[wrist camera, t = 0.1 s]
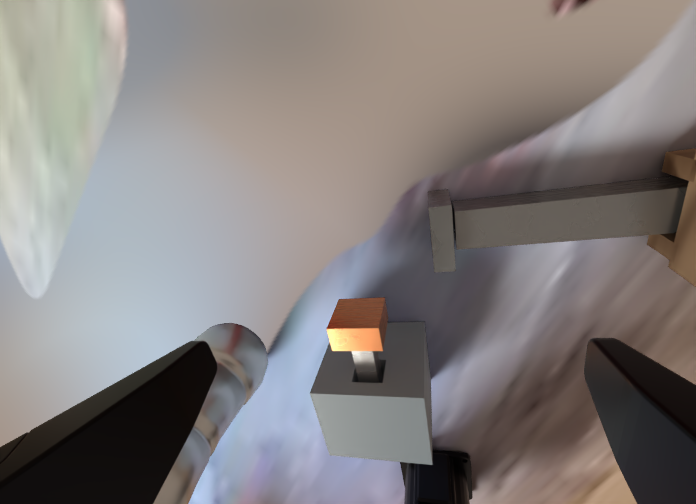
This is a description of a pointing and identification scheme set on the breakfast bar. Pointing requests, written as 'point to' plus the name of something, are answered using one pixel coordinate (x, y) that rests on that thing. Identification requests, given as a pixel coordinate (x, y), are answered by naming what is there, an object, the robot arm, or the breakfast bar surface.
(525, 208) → the rail
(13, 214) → the breakfast bar surface
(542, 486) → the breakfast bar surface
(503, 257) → the breakfast bar surface
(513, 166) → the breakfast bar surface
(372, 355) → the plunger
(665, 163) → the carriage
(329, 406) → the block
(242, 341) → the plastic bottle
